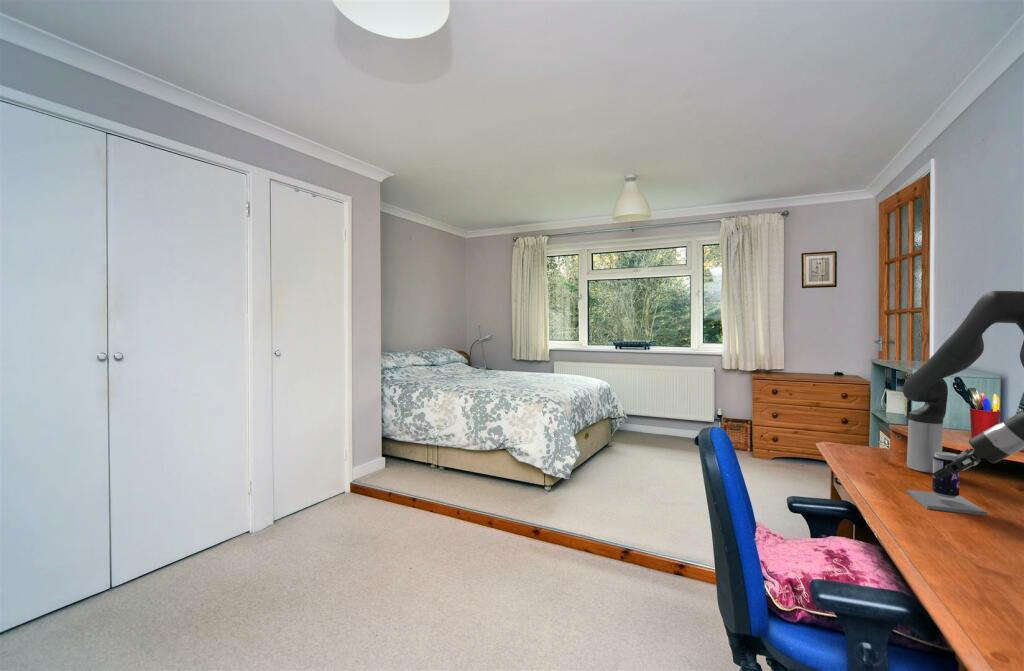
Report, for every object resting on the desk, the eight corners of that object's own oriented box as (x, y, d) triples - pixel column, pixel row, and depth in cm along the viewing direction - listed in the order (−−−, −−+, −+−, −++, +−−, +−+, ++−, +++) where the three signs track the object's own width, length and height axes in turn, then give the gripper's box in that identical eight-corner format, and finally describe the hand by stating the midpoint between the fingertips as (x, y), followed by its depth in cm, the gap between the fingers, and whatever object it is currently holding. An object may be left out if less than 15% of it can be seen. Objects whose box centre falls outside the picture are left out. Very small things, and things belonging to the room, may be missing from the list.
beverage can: (953, 500, 131) (955, 457, 130) (928, 493, 136) (929, 452, 136) (962, 497, 133) (964, 455, 133) (937, 490, 138) (938, 450, 138)
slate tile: (906, 493, 143) (906, 489, 143) (960, 499, 139) (960, 495, 139) (927, 508, 131) (927, 505, 131) (987, 515, 126) (987, 512, 126)
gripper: (987, 427, 133) (930, 459, 142) (981, 434, 124) (920, 468, 133) (1014, 449, 129) (953, 481, 138) (1009, 459, 120) (945, 492, 129)
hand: (937, 474), depth 136 cm, fingers closed on beverage can, 5 cm apart
